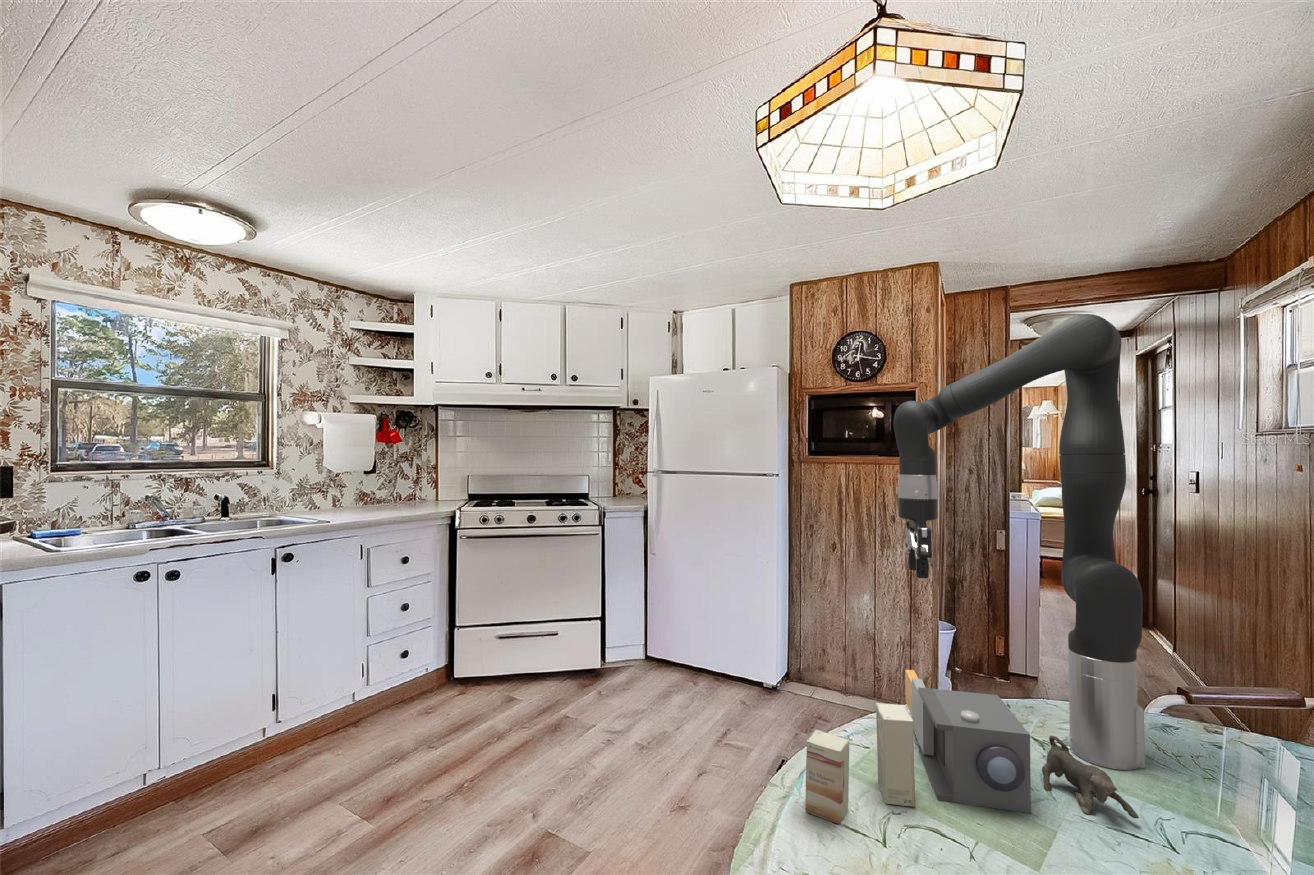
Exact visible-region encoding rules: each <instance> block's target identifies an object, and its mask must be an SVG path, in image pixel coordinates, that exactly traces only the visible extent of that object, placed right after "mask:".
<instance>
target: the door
mask: <svg viewBox="0 0 1314 875" xmlns="http://www.w3.org/2000/svg"><path fill="white" fill-rule="evenodd" d="M904 674H905V675H904V677H905V678H904V680H905V682H904V684H905V686H904V687H905V694H904V696H905V702H906V705H907V707H908V711H909V714H910V716H911V717H912V719H913V734H915V737H916V740H917V742H918V745H919V748H921V750H922V752H923V754H925V755H933V756H934V726H933V721H932V719H931V717H930V715H929V713H928V711H927V709H926V707H925V705H924V702H923V700H922V698H921V696H920V694H919V692H918V687H920V688H927V687H926V685H925V684H924V681H923V679H922V678H919V677H918V675H917V674H916V672H915V670H914V669H905V672H904Z"/></svg>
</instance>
